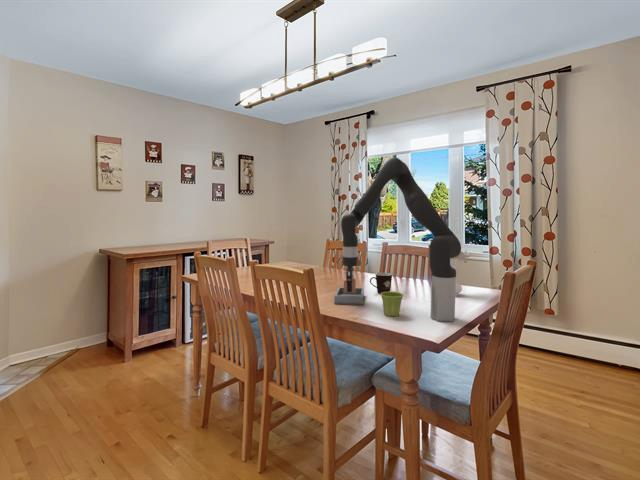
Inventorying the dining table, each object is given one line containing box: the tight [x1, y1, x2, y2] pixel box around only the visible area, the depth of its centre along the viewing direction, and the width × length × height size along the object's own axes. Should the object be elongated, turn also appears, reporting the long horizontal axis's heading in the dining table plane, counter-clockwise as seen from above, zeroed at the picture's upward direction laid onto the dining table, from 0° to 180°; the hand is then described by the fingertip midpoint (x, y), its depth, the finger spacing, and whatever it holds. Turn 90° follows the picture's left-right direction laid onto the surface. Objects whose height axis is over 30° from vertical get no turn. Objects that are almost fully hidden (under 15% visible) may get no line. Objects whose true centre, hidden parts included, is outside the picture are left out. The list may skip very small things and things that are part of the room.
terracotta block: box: [343, 277, 357, 293], centre depth 172 cm, size 6×6×6 cm
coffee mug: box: [369, 272, 393, 295], centre depth 185 cm, size 12×9×10 cm
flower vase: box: [450, 248, 472, 297], centre depth 181 cm, size 13×18×25 cm
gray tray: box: [333, 286, 365, 306], centre depth 172 cm, size 18×13×4 cm
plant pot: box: [379, 291, 404, 317], centre depth 147 cm, size 9×9×9 cm
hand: (349, 290), depth 172 cm, fingers closed on terracotta block, 5 cm apart
